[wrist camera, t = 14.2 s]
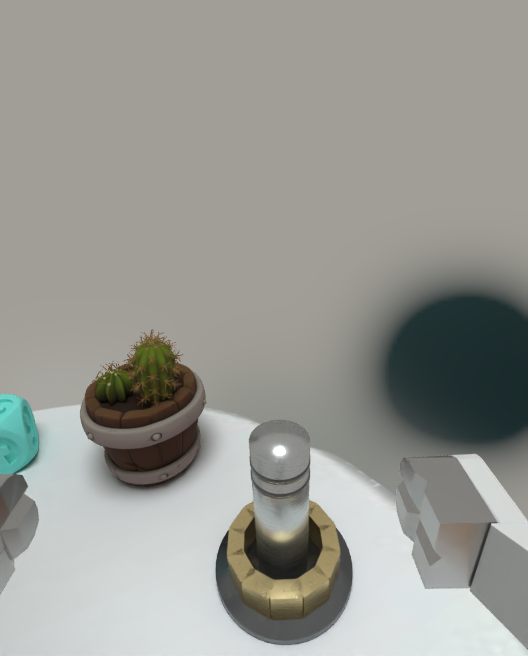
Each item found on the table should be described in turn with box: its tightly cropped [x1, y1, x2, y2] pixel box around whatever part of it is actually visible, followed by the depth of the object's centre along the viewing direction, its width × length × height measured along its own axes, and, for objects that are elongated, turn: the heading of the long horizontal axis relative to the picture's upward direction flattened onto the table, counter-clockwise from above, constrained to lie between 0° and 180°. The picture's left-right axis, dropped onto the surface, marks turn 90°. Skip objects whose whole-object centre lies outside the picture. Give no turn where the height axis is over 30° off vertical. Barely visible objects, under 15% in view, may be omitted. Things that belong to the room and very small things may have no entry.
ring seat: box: [216, 500, 352, 645], centre depth 36 cm, size 13×13×4 cm
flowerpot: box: [80, 331, 206, 486], centre depth 46 cm, size 14×15×20 cm
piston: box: [249, 420, 310, 580], centre depth 33 cm, size 5×5×15 cm
